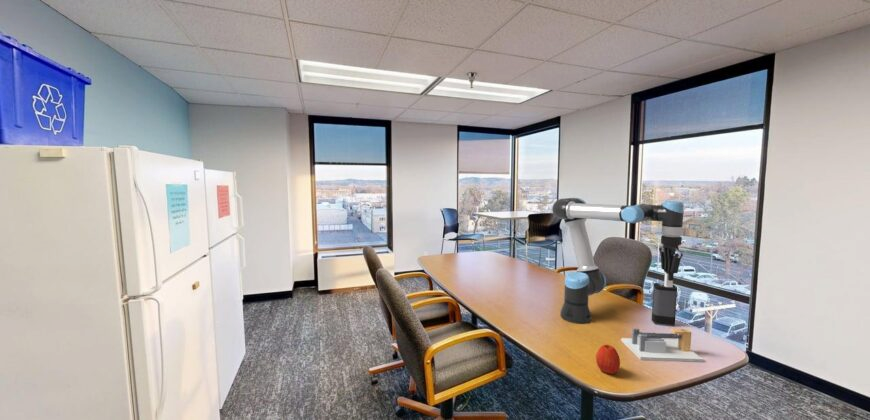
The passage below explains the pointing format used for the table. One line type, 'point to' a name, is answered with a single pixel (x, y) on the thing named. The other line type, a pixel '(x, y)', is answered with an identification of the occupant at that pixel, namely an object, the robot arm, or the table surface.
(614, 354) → the apple
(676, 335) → the strap
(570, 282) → the robot arm
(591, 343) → the table surface
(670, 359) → the board
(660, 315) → the electronic device
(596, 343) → the table surface
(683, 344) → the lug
